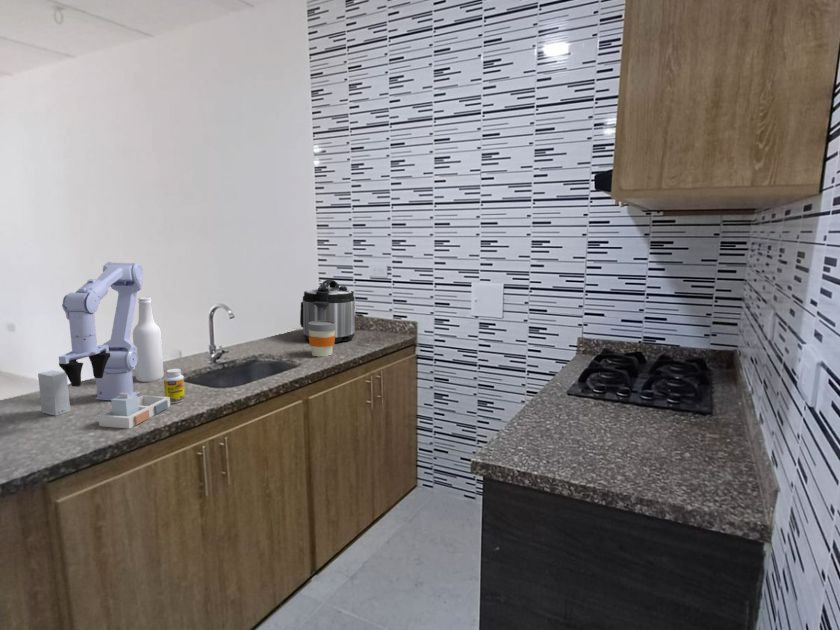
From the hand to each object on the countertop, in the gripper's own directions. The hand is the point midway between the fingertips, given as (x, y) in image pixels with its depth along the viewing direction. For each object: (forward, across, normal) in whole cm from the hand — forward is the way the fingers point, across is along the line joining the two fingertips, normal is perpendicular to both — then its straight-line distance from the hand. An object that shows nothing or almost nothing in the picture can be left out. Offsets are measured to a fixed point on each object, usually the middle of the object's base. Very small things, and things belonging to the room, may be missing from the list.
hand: (87, 381), depth 128 cm
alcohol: (+11, +35, +8) cm, 37 cm away
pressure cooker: (+11, +116, -33) cm, 121 cm away
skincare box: (+11, +1, +12) cm, 16 cm away
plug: (+10, -1, -12) cm, 16 cm away
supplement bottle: (+11, +16, -15) cm, 24 cm away
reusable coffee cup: (+11, +83, -41) cm, 93 cm away
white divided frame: (+10, +3, -12) cm, 16 cm away
